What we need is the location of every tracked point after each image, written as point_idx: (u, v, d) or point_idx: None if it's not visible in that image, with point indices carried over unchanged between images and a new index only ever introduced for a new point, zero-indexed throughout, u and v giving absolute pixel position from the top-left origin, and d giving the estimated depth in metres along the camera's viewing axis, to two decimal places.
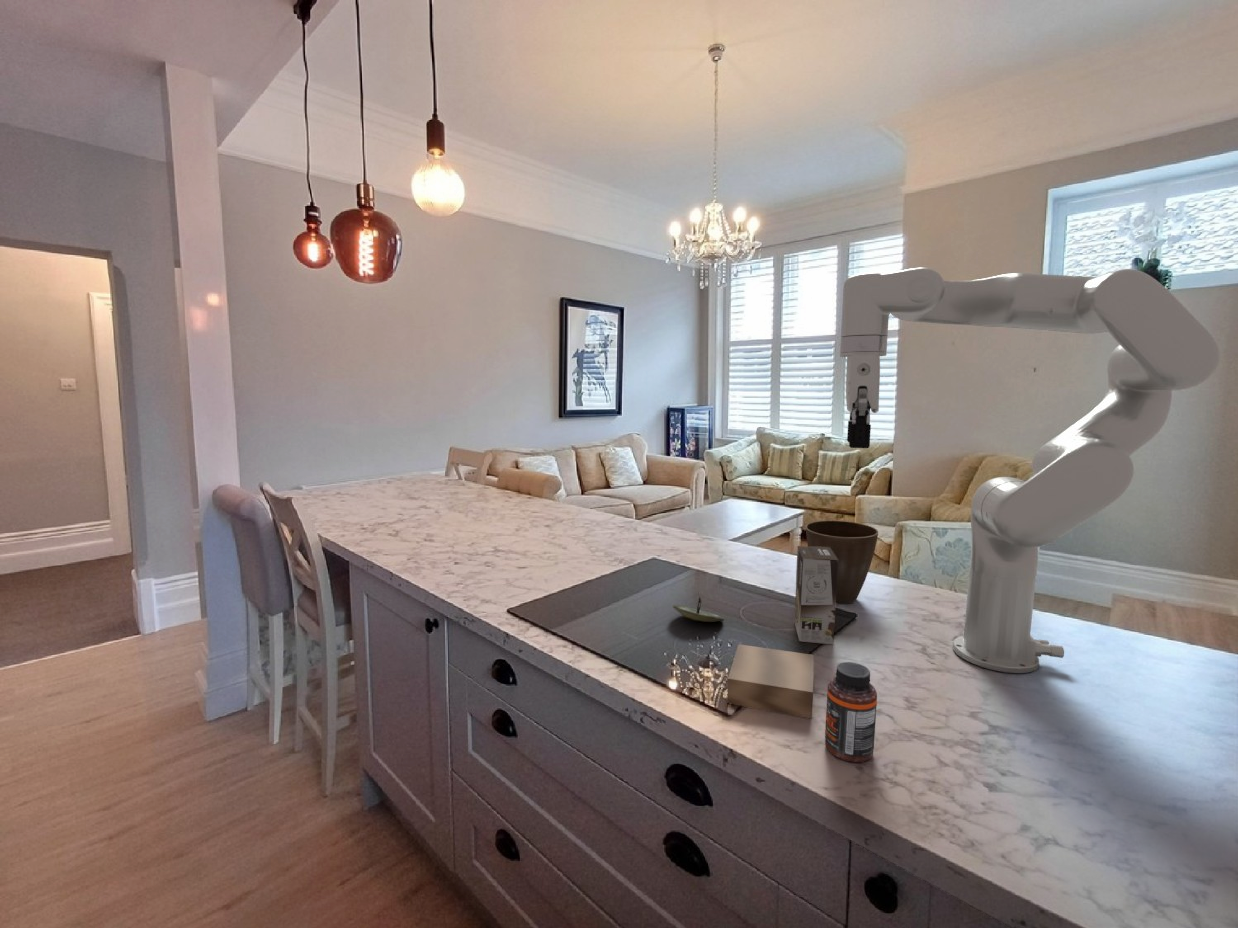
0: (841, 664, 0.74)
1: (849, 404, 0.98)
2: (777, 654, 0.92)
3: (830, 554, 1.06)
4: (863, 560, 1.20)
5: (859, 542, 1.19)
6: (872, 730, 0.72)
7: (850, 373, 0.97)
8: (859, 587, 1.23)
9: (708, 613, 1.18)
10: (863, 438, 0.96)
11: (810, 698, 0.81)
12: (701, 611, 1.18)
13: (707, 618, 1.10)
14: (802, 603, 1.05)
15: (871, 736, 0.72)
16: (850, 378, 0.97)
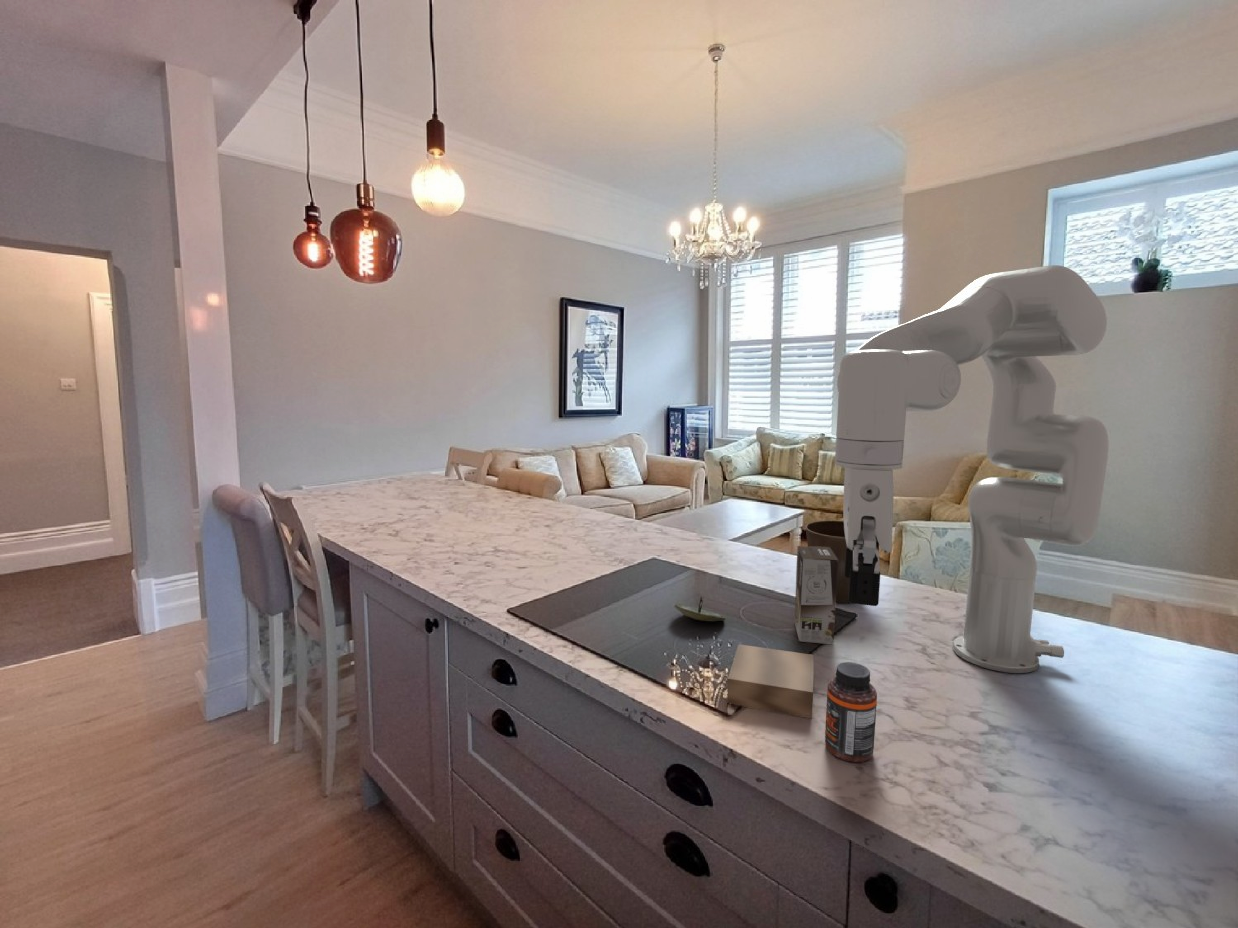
0: (841, 664, 0.74)
1: (848, 540, 0.67)
2: (777, 654, 0.92)
3: (830, 554, 1.06)
4: None
5: None
6: (872, 730, 0.72)
7: (850, 495, 0.66)
8: None
9: (709, 612, 1.18)
10: (869, 593, 0.65)
11: (810, 698, 0.81)
12: (702, 610, 1.19)
13: (709, 617, 1.10)
14: (802, 603, 1.05)
15: (871, 736, 0.72)
16: (850, 503, 0.66)
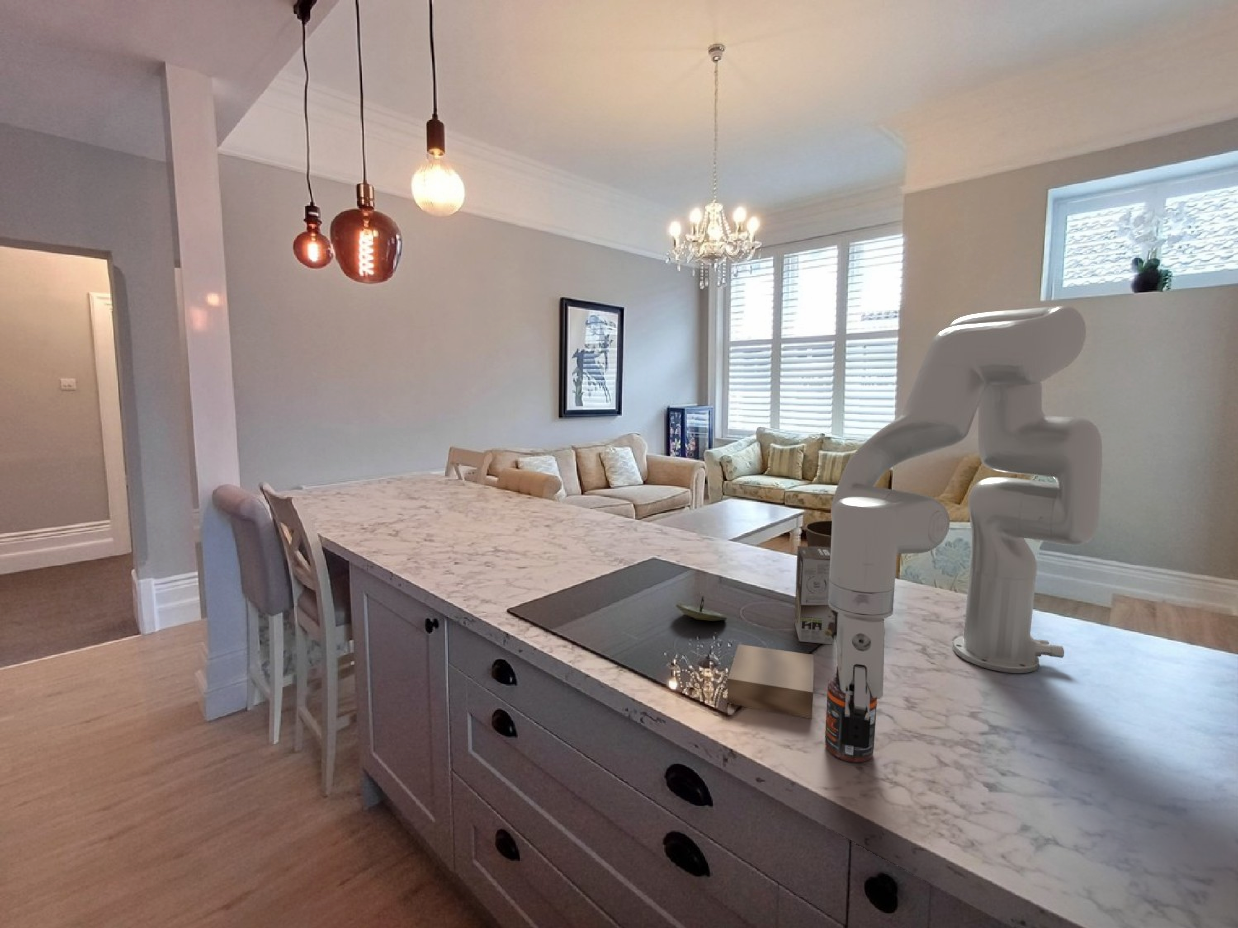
0: None
1: (841, 684, 0.69)
2: (777, 654, 0.92)
3: (830, 554, 1.06)
4: None
5: None
6: (872, 731, 0.72)
7: (842, 642, 0.69)
8: None
9: (711, 612, 1.18)
10: (860, 737, 0.70)
11: (810, 698, 0.81)
12: (704, 610, 1.19)
13: (710, 617, 1.11)
14: (802, 603, 1.05)
15: (871, 736, 0.72)
16: (843, 649, 0.69)
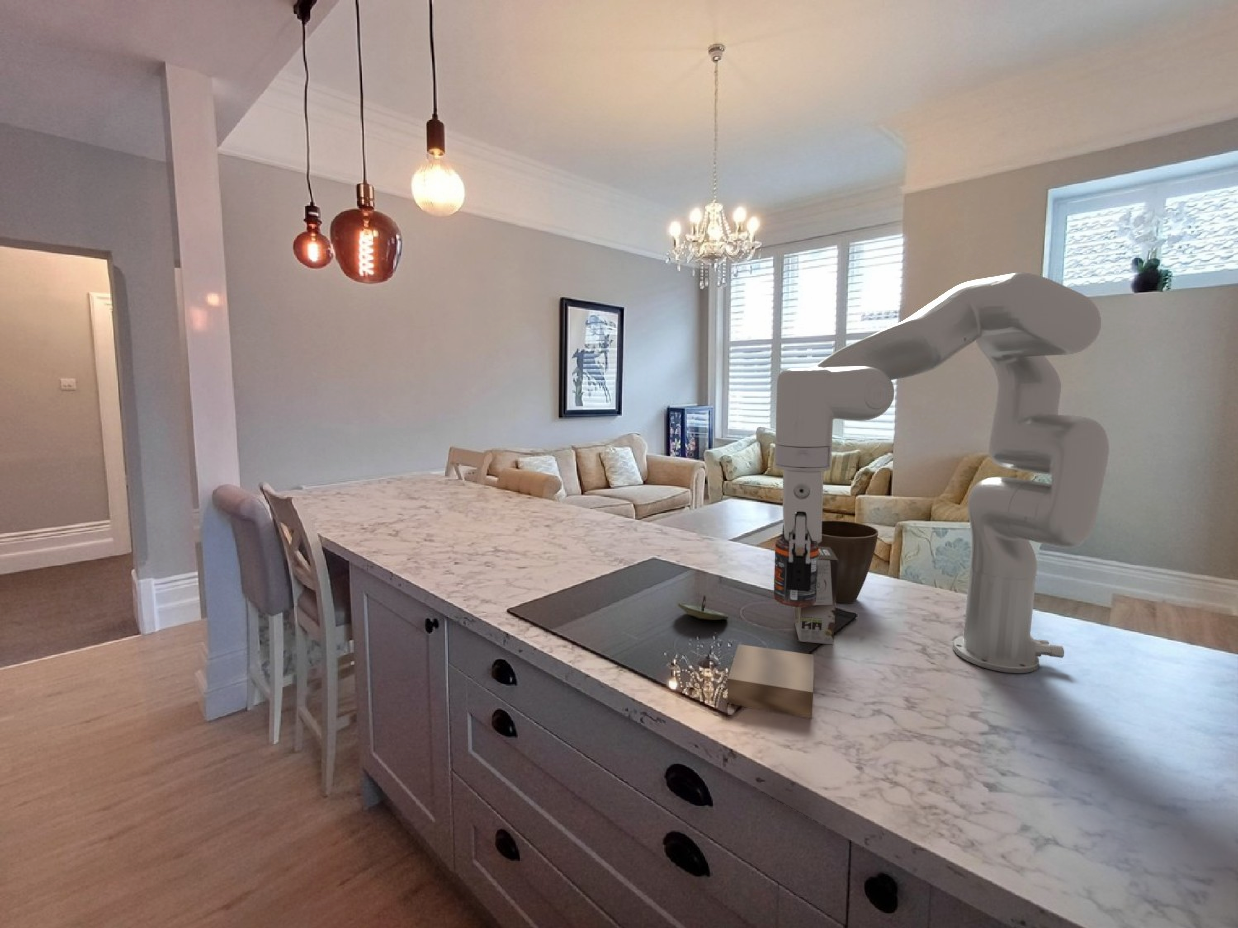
0: None
1: (785, 532, 0.77)
2: (777, 654, 0.92)
3: (830, 554, 1.06)
4: (863, 560, 1.20)
5: (859, 542, 1.19)
6: (814, 578, 0.80)
7: (786, 494, 0.77)
8: (859, 587, 1.23)
9: (712, 611, 1.19)
10: (802, 580, 0.78)
11: (810, 698, 0.81)
12: (705, 609, 1.19)
13: (712, 616, 1.11)
14: None
15: (813, 583, 0.80)
16: (786, 500, 0.77)
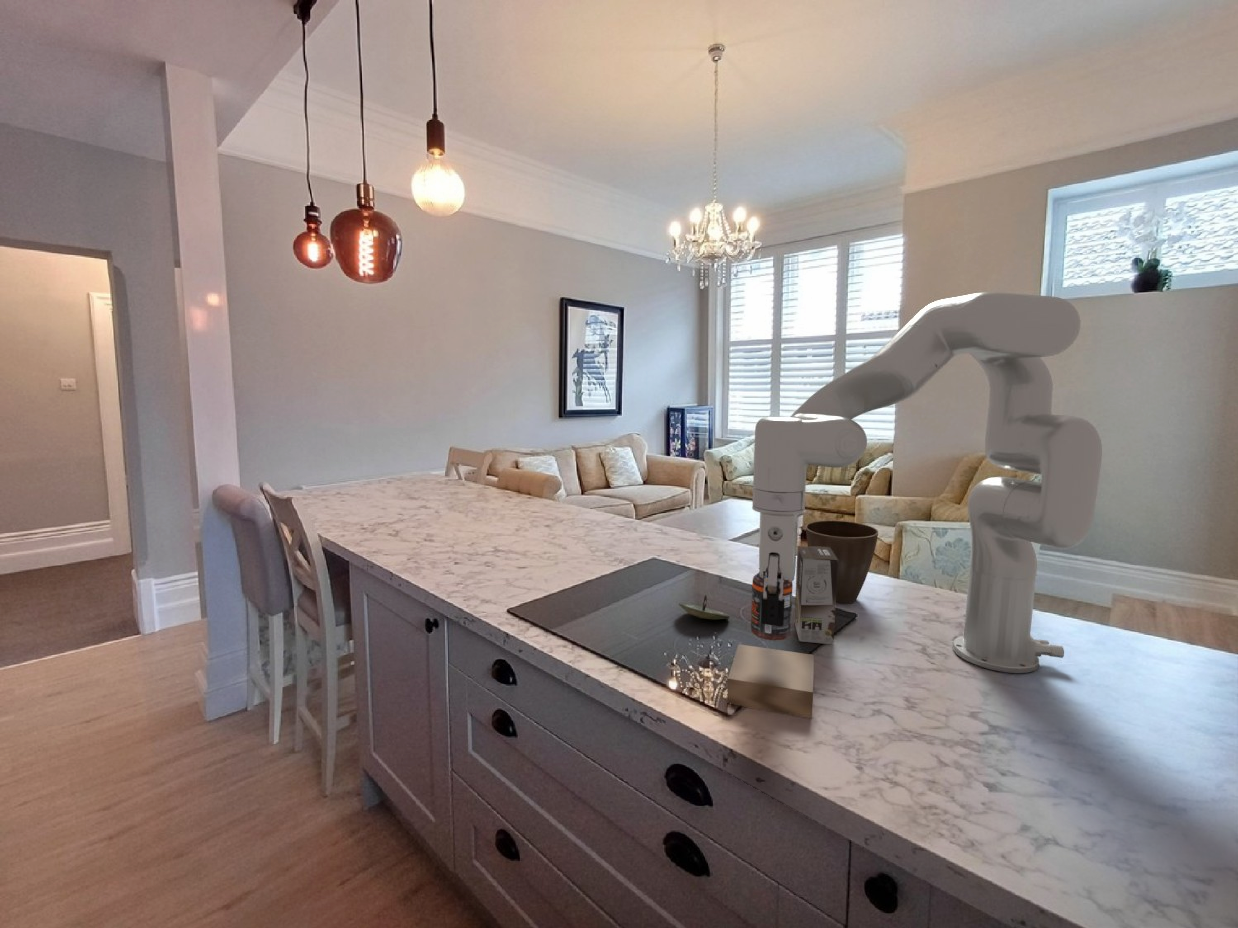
0: None
1: (760, 571, 0.83)
2: (777, 654, 0.92)
3: (830, 554, 1.06)
4: (863, 560, 1.20)
5: (859, 542, 1.19)
6: (787, 613, 0.85)
7: (761, 535, 0.82)
8: (859, 587, 1.23)
9: (713, 611, 1.19)
10: (775, 616, 0.83)
11: (810, 698, 0.81)
12: (706, 609, 1.20)
13: (713, 615, 1.11)
14: (802, 603, 1.05)
15: (787, 618, 0.85)
16: (760, 541, 0.82)
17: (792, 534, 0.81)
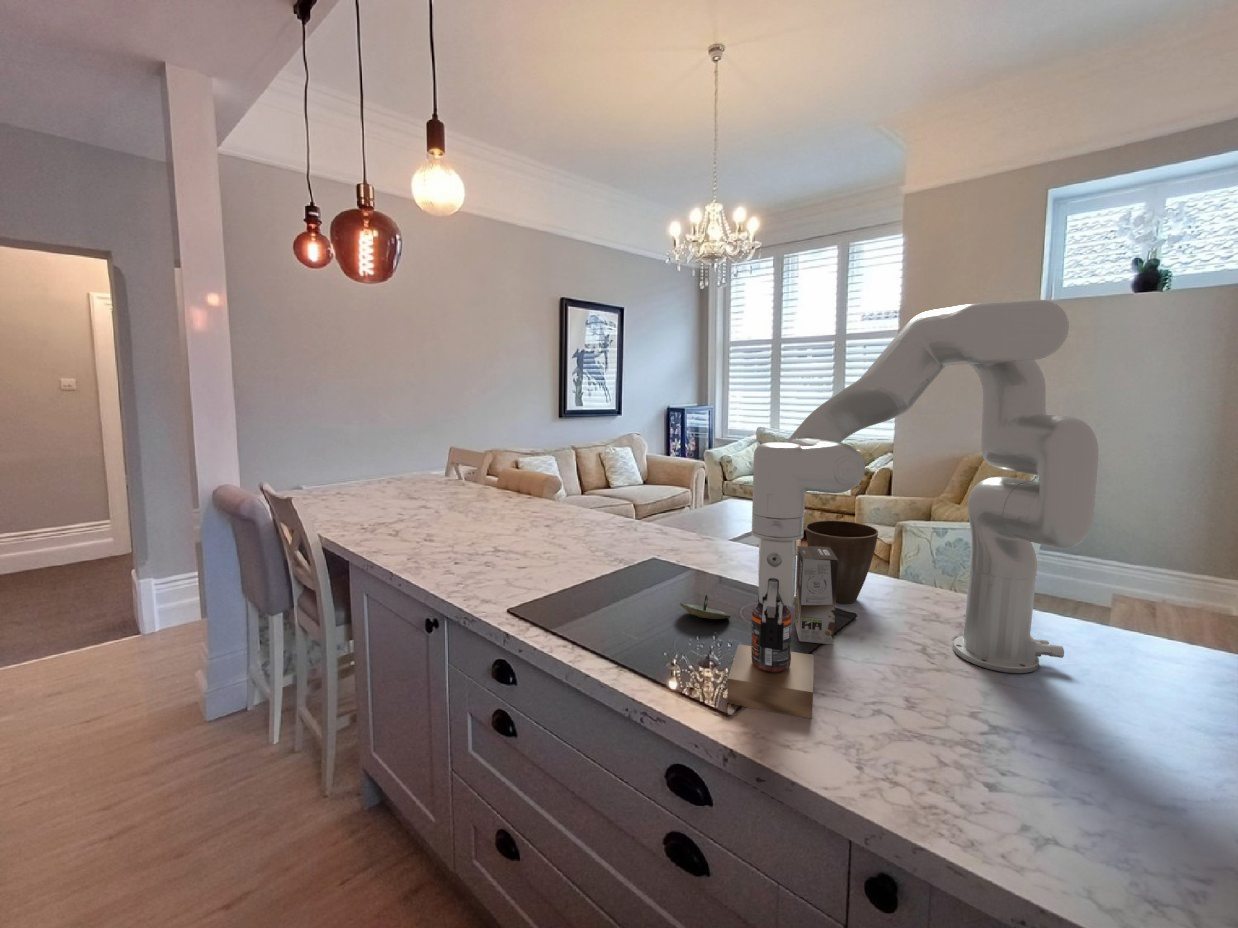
0: None
1: (759, 596, 0.83)
2: None
3: (830, 554, 1.06)
4: (863, 560, 1.20)
5: (859, 542, 1.19)
6: (787, 645, 0.86)
7: (760, 561, 0.83)
8: (859, 587, 1.23)
9: (714, 610, 1.19)
10: (775, 640, 0.82)
11: (810, 698, 0.81)
12: (707, 608, 1.20)
13: (714, 615, 1.11)
14: (802, 603, 1.05)
15: (787, 650, 0.86)
16: (760, 567, 0.83)
17: (791, 560, 0.81)
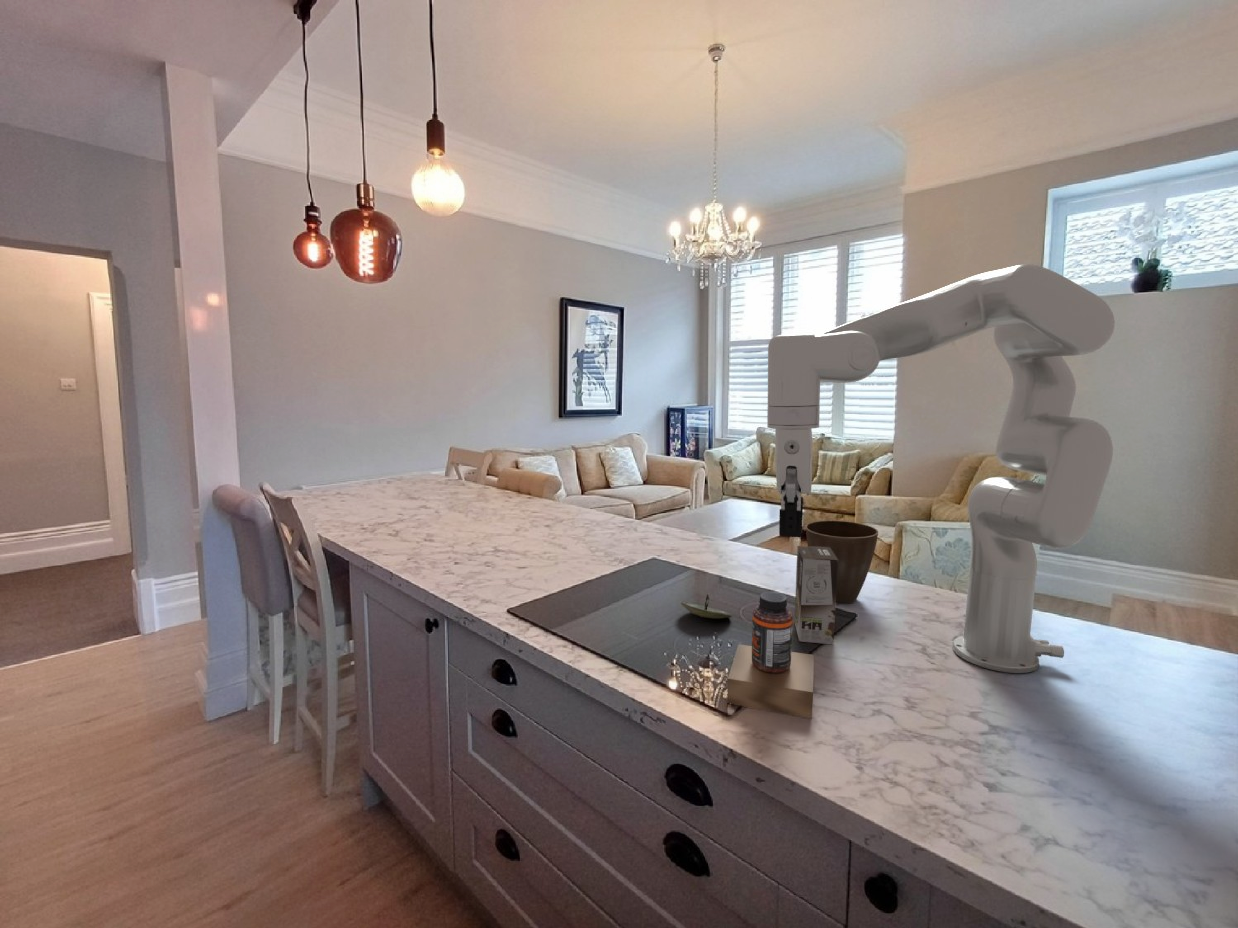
0: (764, 593, 0.88)
1: (777, 486, 0.84)
2: None
3: (830, 554, 1.06)
4: (863, 560, 1.20)
5: (859, 542, 1.19)
6: (788, 646, 0.86)
7: (777, 450, 0.83)
8: (859, 587, 1.23)
9: (715, 610, 1.19)
10: (794, 526, 0.83)
11: (810, 698, 0.81)
12: (708, 608, 1.20)
13: (716, 615, 1.12)
14: (802, 603, 1.05)
15: (787, 651, 0.86)
16: (777, 456, 0.83)
17: (809, 447, 0.82)
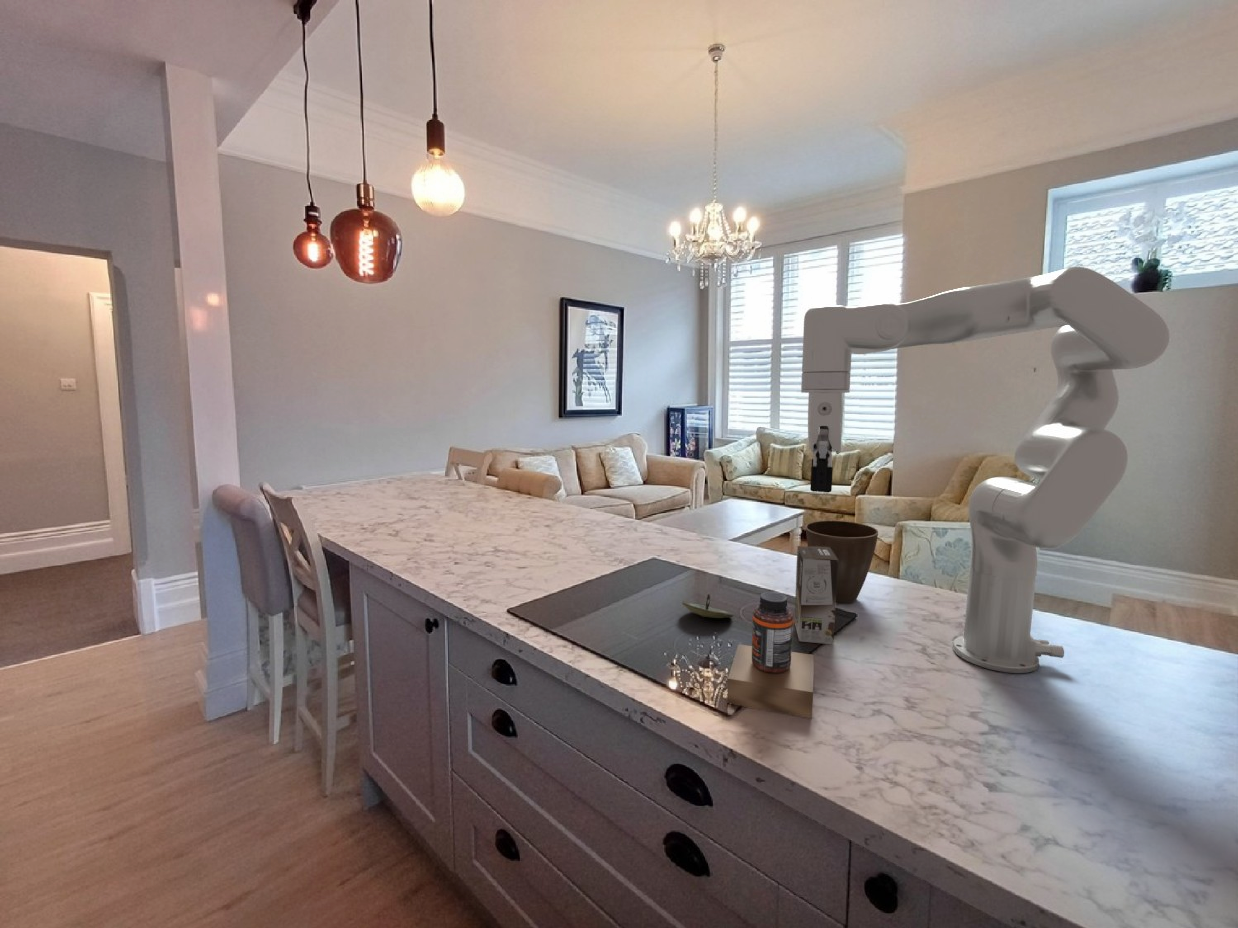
0: (764, 593, 0.88)
1: (810, 445, 0.92)
2: None
3: (830, 554, 1.06)
4: (863, 560, 1.20)
5: (859, 542, 1.19)
6: (788, 646, 0.86)
7: (811, 412, 0.91)
8: (859, 587, 1.23)
9: (716, 609, 1.19)
10: (824, 482, 0.90)
11: (810, 698, 0.81)
12: (709, 607, 1.20)
13: (717, 614, 1.12)
14: (802, 603, 1.05)
15: (788, 651, 0.86)
16: (811, 417, 0.91)
17: (840, 409, 0.90)
